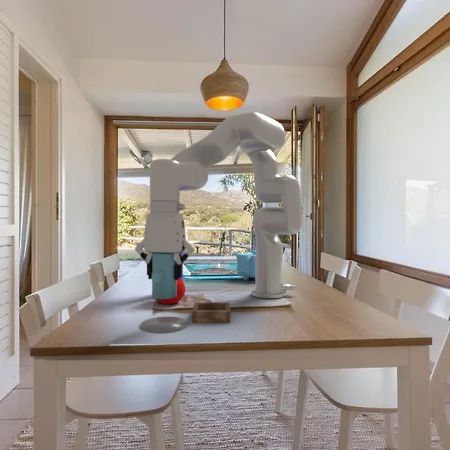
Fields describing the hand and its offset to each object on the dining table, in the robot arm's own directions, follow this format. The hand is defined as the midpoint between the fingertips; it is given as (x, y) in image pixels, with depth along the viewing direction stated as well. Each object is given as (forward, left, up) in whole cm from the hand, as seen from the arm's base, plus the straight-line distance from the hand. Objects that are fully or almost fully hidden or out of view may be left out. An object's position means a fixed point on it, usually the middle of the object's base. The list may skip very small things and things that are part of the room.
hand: (164, 278), depth 94 cm
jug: (0, +2, -5) cm, 5 cm away
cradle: (-12, -7, -13) cm, 19 cm away
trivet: (0, 0, -13) cm, 13 cm away
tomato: (+2, -24, -13) cm, 27 cm away
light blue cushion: (-28, -70, -13) cm, 77 cm away
